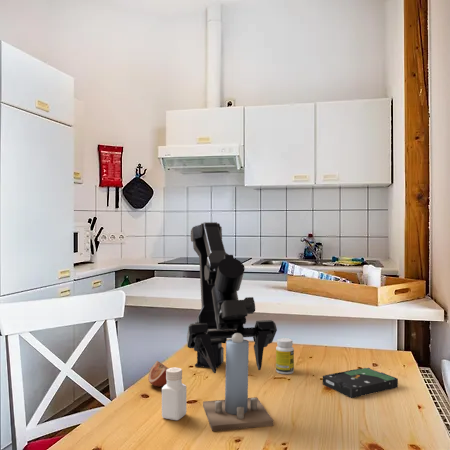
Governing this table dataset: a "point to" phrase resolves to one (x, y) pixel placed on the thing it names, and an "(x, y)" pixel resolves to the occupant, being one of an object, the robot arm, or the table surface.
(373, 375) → the disk drive
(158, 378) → the fruit slice
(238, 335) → the pepper mill
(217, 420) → the brown pegged base plate
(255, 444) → the table surface
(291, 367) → the supplement bottle
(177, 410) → the white plastic bottle
